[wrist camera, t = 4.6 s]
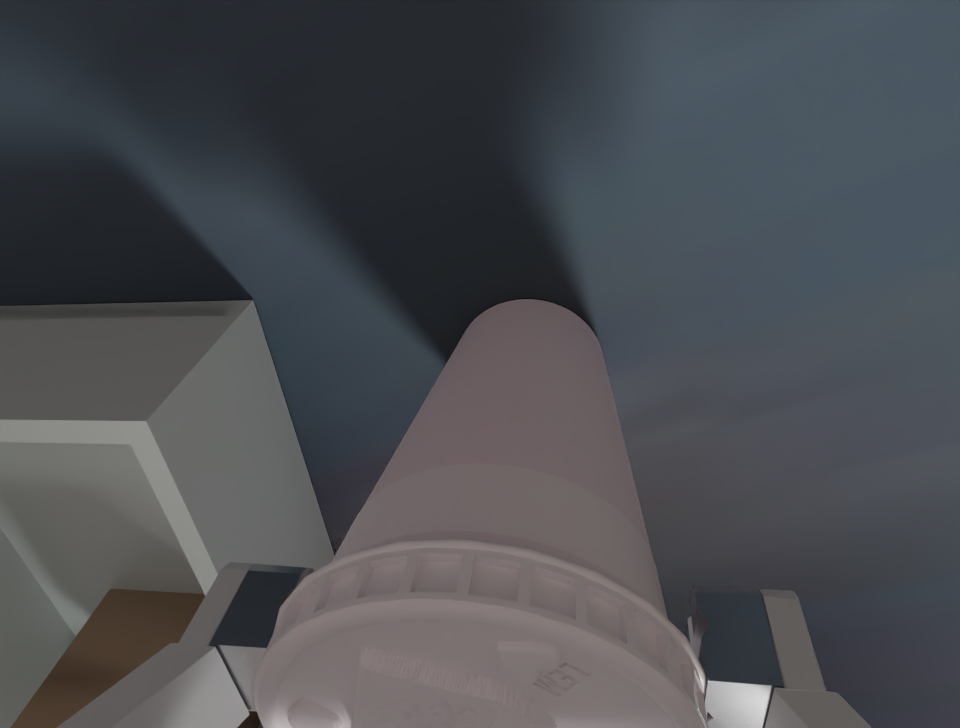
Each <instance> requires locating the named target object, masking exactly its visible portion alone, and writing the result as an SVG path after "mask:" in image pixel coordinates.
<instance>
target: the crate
mask: <svg viewBox="0 0 960 728" xmlns="http://www.w3.org/2000/svg"><path fill="white" fill-rule="evenodd" d="M334 556H335V555H334V552H333V549H332V546H331V543H330V539H329V536H328V533H327V530H326V527H325V524H324V521H323V518H322V514H321V511H320V508H319V505H318V502H317V499H316V496H315V492H314V489H313V486H312V483H311V480H310V477H309V474H308V470H307V467H306V464H305V461H304V458H303V455H302V452H301V448H300V445H299V442H298V439H297V436H296V433H295V430H294V427H293V423H292V420H291V417H290V414H289V411H288V408H287V405H286V401H285V398H284V395H283V392H282V389H281V386H280V383H279V379H278V376H277V373H276V370H275V367H274V364H273V361H272V357H271V354H270V351H269V348H268V345H267V342H266V339H265V336H264V332H263V329H262V326H261V323H260V320H259V317H258V314H257V310H256V307H255V304H254V301H253V300H239V301H196V302H153V303H110V304H67V305H24V306H0V728H11V726H12V725H13V723H14V722H15V721H16V719H17V718H18V716H19V715H20V714H21V712H22V711H23V709H24V708H25V707H26V705H27V704H28V702H29V701H30V700H31V698H32V697H33V696H34V694H35V693H36V691H37V690H38V689H39V687H40V686H41V684H42V683H43V682H44V680H45V679H46V677H47V676H48V675H49V673H50V672H51V670H52V669H53V668H54V666H55V665H56V663H57V662H58V661H59V659H60V658H61V657H62V655H63V654H64V652H65V651H66V650H67V648H68V647H69V645H70V644H71V643H72V641H73V640H74V638H75V637H76V636H77V634H78V633H79V631H80V630H81V629H82V627H83V626H84V625H85V623H86V622H87V620H88V619H89V618H90V616H91V615H92V613H93V612H94V611H95V609H96V608H97V606H98V605H99V604H100V602H101V601H102V599H103V598H104V597H105V595H106V594H107V592H108V591H109V590H110V589H126V590H143V591H160V592H177V593H194V594H205V596H206V594H207V593H208V591H209V589H210V587H211V586H212V584H213V582H214V581H215V579H216V577H217V575H218V574H219V572H220V570H221V569H222V568H223V567H224V566H226V565H227V564H228V563H229V562H236V563H253V564H266V565H279V566H292V567H304V568H313V569H314V572H315V571H317V570H318V569H320V568H322V567H324V566H325V565H327V564H329V563H331V562H332V560H333V558H334ZM258 728H264V727H263V725H262V723H261V722H260V724H259V726H258Z"/></svg>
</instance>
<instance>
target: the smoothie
mask: <svg viewBox="0 0 960 728" xmlns="http://www.w3.org/2000/svg"><path fill="white" fill-rule="evenodd" d="M705 689H706V674H705V672H704V670H703V668H702V666H701V664H700V662H699V660H698V658H697V656H696V655H695V653H694V651H693V649H692V647H691V645H690V643H689V641H688V639H687V637H686V636H685V635H684V634H683V633H682V632H681V631H680V630H679V629H678V628H677V627H676V626H674V625H673V624H672V623H671V622H670V621H669V620H668V617H667V613H666V608H665V604H664V600H663V595H662V591H661V586H660V582H659V577H658V573H657V569H656V565H655V562H654V559H653V556H652V552H651V548H650V544H649V540H648V536H647V532H646V528H645V524H644V519H643V515H642V511H641V507H640V503H639V499H638V495H637V491H636V487H635V483H634V479H633V475H632V471H631V467H630V463H629V459H628V455H627V451H626V447H625V443H624V439H623V435H622V431H621V426H620V422H619V418H618V414H617V410H616V406H615V402H614V398H613V394H612V390H611V386H610V382H609V378H608V374H607V370H606V366H605V362H604V358H603V354H602V350H601V347H600V344H599V341H598V339H597V337H596V336H595V334H594V332H593V331H592V330H591V328H590V327H589V326H588V325H587V324H586V322H584V321H583V320H582V319H581V318H580V317H579V316H577V315H576V314H575V313H573V312H571V311H570V310H568V309H566V308H564V307H562V306H560V305H557V304H554V303H551V302H547V301H542V300H534V299H520V300H512V301H508V302H504V303H501V304H498V305H495V306H493V307H491V308H489V309H487V310H486V311H484V312H483V313H481V314H480V315H479V316H478V317H476V318H475V319H474V320H473V321H472V323H471V324H470V325H469V326H468V328H467V329H466V331H465V333H464V334H463V336H462V338H461V339H460V341H459V343H458V345H457V346H456V348H455V350H454V351H453V353H452V355H451V357H450V358H449V360H448V362H447V363H446V365H445V367H444V369H443V370H442V372H441V374H440V376H439V377H438V379H437V381H436V382H435V384H434V386H433V388H432V389H431V391H430V393H429V394H428V396H427V398H426V400H425V401H424V403H423V405H422V406H421V408H420V410H419V412H418V413H417V415H416V417H415V418H414V420H413V422H412V424H411V425H410V427H409V429H408V431H407V432H406V434H405V436H404V437H403V439H402V441H401V443H400V444H399V446H398V448H397V449H396V451H395V453H394V455H393V456H392V458H391V460H390V461H389V463H388V465H387V467H386V468H385V470H384V472H383V473H382V475H381V477H380V479H379V480H378V482H377V484H376V485H375V487H374V489H373V491H372V492H371V494H370V496H369V498H368V499H367V501H366V503H365V504H364V506H363V508H362V509H361V511H360V512H359V514H358V515H357V517H356V518H355V520H354V522H353V524H352V526H351V527H350V529H349V531H348V533H347V535H346V536H345V538H344V540H343V542H342V544H341V545H340V547H339V549H338V551H337V553H336V554H335V556H334V558H333V560H332V562H331V563H329V564H327V565H325V566H324V567H322V568H320V569H318V570H317V571H315V572H313V573H311V574H309V575H308V576H306V577H305V578H304V579H303V580H302V581H301V582H300V584H299V585H298V586H297V587H296V588H295V590H294V591H293V592H292V593H291V594H290V596H289V597H288V598H287V599H286V600H285V602H284V603H283V604H282V605H281V606H280V609H279V613H278V617H277V621H276V625H275V629H274V633H273V635H272V638H271V640H270V642H269V644H268V647H267V649H266V651H265V653H264V656H263V658H262V660H261V662H260V664H259V667H258V669H257V673H256V676H255V680H254V701H255V706H256V710H257V713H258V716H259V719H260V721H261V723H262V725H263V727H264V728H708V723H707V714H708V712H707V711H706V708H705V701H704V697H705Z"/></svg>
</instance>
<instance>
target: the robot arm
mask: <svg viewBox="0 0 960 728" xmlns="http://www.w3.org/2000/svg"><path fill="white" fill-rule="evenodd" d="M313 572H314V569H313V568H304V567H292V566H279V565H266V564H253V563H236V562H229V563H228V564H227V565H226V566H224V567H223V568H222V569H221V570H220V572H219V574H218V575H217V577H216V579H215V581H214V582H213V584H212V586H211V587H210V589H209V591H208V593H207V594H206V596H205V598H204V600H203V601H202V603H201V605H200V606H199V608H198V610H197V612H196V613H195V615H194V617H193V619H192V620H191V622H190V624H189V625H188V627H187V629H186V631H185V632H184V634H183V636H182V638H181V639H180V641H179V643H170V644H168V645H167V646H166V647H164V648H163V649H162V650H160V651H159V652H158V653H156V654H155V655H154V656H152V657H151V658H150V659H148V660H147V661H146V662H144V663H143V664H141V665H140V666H139V667H137V668H136V669H135V670H133V671H132V672H131V673H129V674H128V675H127V676H125V677H124V678H123V679H121V680H120V681H119V682H117V683H116V684H115V685H113V686H112V687H111V688H109V689H108V690H106V691H105V692H104V693H102V694H101V695H100V696H98V697H97V698H96V699H94V700H93V701H92V702H90V703H89V704H88V705H86V706H85V707H84V708H82V709H81V710H80V711H78V712H77V713H76V714H74V715H73V716H71V717H70V718H69V719H67V720H66V721H65V722H63V723H62V724H61V725H59V726H58V727H57V728H237V727H238V726H239V725H240V724H241V723H242V722H243V721H244V720H245V719H246V718H247V717H248V716H249V715H250V713H249V711H256V712H257V710H256V706H255V701H254V680H255V676H256V673H257V669H258V667H259V664H260V662H261V660H262V658H263V656H264V653H265V651H266V649H267V647H268V644H269V642H270V640H271V638H272V635H273V633H274V629H275V625H276V621H277V617H278V613H279V609H280V606H281V605H282V604H283V603H284V602H285V600H286V599H287V598H288V597H289V596H290V594H291V593H292V592H293V591H294V590H295V588H296V587H297V586H298V585H299V584H300V582H301V581H302V580H303V579H304V578H305V577H306V576H308V575H309V574H311V573H313ZM689 603H690V610H691V616H690V617H689V618H688V619H687V630H686V637H687V639H688V641H689V643H690V645H691V647H692V649H693V651H694V653H695V655H696V656H697V658H698V660H699V662H700V664H701V666H702V668H703V670H704V672H705V674H706V689H705V697H704V701H705V708H706V711H707V712H708V714H707V723H708V728H872V727H871V726H870V725H869V724H868V723H867V722H866V721H865V720H864V719H863V718H862V717H861V716H860V715H859V714H858V713H857V712H856V711H855V710H854V709H853V708H852V707H851V706H850V705H849V704H848V703H847V702H846V701H845V700H844V699H843V698H842V697H841V696H840V695H839V694H838V693H837V692H829V691H826V688H825V685H824V682H823V678H822V675H821V672H820V668H819V665H818V662H817V658H816V655H815V652H814V649H813V645H812V642H811V639H810V635H809V632H808V629H807V625H806V622H805V619H804V615H803V612H802V609H801V605H800V602H799V599H798V596H797V595H796V594H795V593H794V591H791V590H768V589H757V588H738V587H711V586H692V588H691V591H690V599H689Z"/></svg>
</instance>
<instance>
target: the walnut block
mask: <svg viewBox="0 0 960 728" xmlns="http://www.w3.org/2000/svg"><path fill="white" fill-rule="evenodd" d="M204 598H205V594H194V593H177V592H160V591H143V590H126V589H110V590H109V591H108V592H107V594H106V595H105V597H104V598H103V599H102V601H101V602H100V604H99V605H98V606H97V608H96V609H95V611H94V612H93V613H92V615H91V616H90V618H89V619H88V620H87V622H86V623H85V625H84V626H83V627H82V629H81V630H80V631H79V633H78V634H77V636H76V637H75V638H74V640H73V641H72V643H71V644H70V645H69V647H68V648H67V650H66V651H65V652H64V654H63V655H62V657H61V658H60V659H59V661H58V662H57V663H56V665H55V666H54V668H53V669H52V670H51V672H50V673H49V675H48V676H47V677H46V679H45V680H44V682H43V683H42V684H41V686H40V687H39V689H38V690H37V691H36V693H35V694H34V696H33V697H32V698H31V700H30V701H29V702H28V704H27V705H26V707H25V708H24V709H23V711H22V712H21V714H20V715H19V716H18V718H17V719H16V721H15V722H14V723H13V725H12V726H11V728H57V727H58V726H59V725H61V724H62V723H63V722H65V721H66V720H67V719H69V718H70V717H71V716H73V715H74V714H76V713H77V712H78V711H80V710H81V709H82V708H84V707H85V706H86V705H88V704H89V703H90V702H92V701H93V700H94V699H96V698H97V697H98V696H100V695H101V694H102V693H104V692H105V691H106V690H108V689H109V688H111V687H112V686H113V685H115V684H116V683H117V682H119V681H120V680H121V679H123V678H124V677H125V676H127V675H128V674H129V673H131V672H132V671H133V670H135V669H136V668H137V667H139V666H140V665H141V664H143V663H144V662H146V661H147V660H148V659H150V658H151V657H152V656H154V655H155V654H156V653H158V652H159V651H160V650H162V649H163V648H164V647H166V646H167V645H168V644H170V643H179V641H180V639H181V638H182V636H183V634H184V632H185V631H186V629H187V627H188V625H189V624H190V622H191V620H192V619H193V617H194V615H195V613H196V612H197V610H198V608H199V606H200V605H201V603H202V601H203V600H204ZM249 713H250V715H249V716H248V717H247V718H246V719H245V720H244V721H243V722H242V723H241V724H240V725H239V726H238V727H237V728H258V726H259V724H260V722H261V721H260V719H259V716H258V713H257V712H256V711H249Z"/></svg>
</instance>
